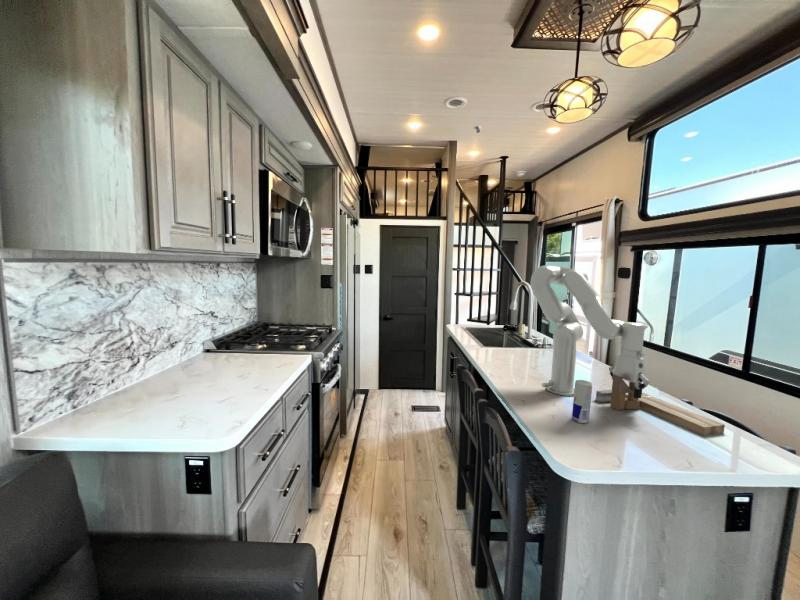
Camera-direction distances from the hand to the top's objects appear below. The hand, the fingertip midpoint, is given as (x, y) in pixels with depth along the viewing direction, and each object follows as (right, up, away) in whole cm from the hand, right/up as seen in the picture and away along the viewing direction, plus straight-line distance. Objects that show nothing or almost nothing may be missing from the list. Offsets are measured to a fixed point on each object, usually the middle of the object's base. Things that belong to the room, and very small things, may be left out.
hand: (626, 393), depth 135 cm
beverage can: (-26, -7, -12) cm, 29 cm away
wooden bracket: (0, -6, +1) cm, 7 cm away
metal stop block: (-2, -5, +8) cm, 10 cm away
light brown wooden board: (+14, -7, -5) cm, 16 cm away
